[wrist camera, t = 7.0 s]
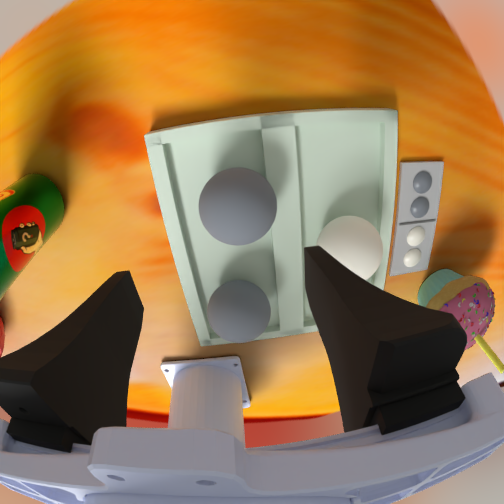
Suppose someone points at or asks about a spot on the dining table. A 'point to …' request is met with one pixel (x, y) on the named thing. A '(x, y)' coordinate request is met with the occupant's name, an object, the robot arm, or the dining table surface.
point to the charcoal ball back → (238, 311)
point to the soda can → (26, 223)
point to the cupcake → (462, 305)
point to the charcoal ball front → (237, 206)
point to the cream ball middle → (353, 244)
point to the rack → (287, 194)
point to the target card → (416, 215)
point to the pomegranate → (1, 336)
